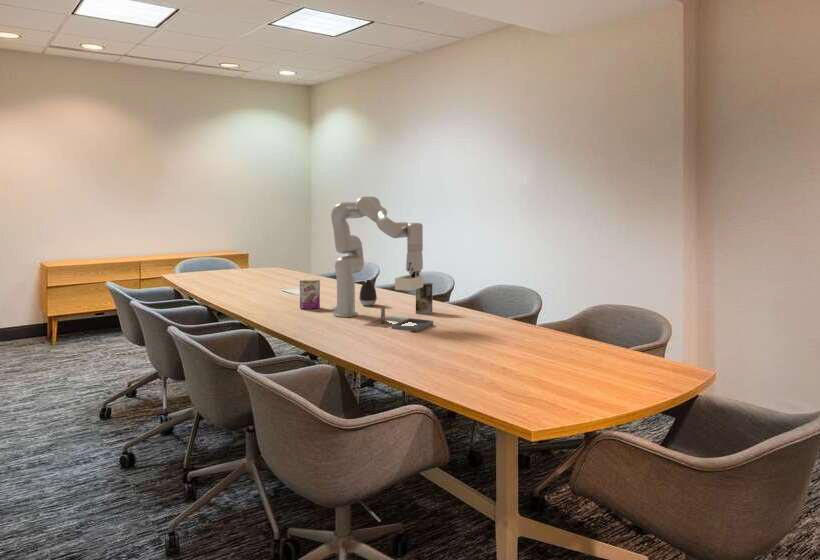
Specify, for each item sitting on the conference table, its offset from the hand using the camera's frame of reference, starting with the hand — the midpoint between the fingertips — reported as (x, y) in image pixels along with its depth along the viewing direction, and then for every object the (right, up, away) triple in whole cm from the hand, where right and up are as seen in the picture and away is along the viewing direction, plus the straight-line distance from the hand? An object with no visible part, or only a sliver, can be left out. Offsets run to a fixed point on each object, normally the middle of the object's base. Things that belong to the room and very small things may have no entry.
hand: (415, 285), depth 301 cm
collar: (-3, -1, -6) cm, 6 cm away
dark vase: (-27, -12, +56) cm, 63 cm away
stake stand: (-16, -20, +2) cm, 25 cm away
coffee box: (+5, -16, +34) cm, 38 cm away
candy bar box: (-59, -14, +45) cm, 76 cm away
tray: (-1, -21, -4) cm, 21 cm away
